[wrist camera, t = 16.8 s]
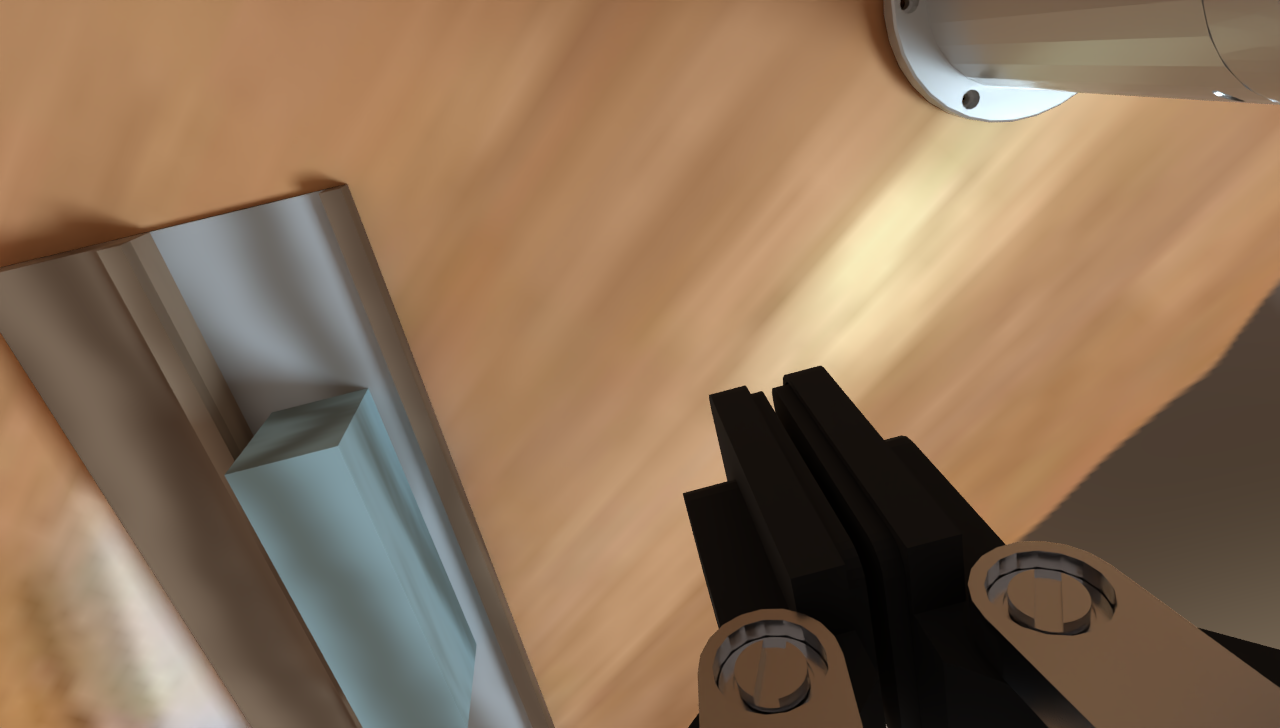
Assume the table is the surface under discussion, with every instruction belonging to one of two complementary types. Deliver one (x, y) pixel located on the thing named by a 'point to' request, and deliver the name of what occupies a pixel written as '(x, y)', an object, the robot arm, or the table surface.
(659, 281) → the table surface
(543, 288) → the table surface
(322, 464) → the teal rectangular block
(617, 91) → the table surface
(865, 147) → the table surface
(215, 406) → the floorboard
